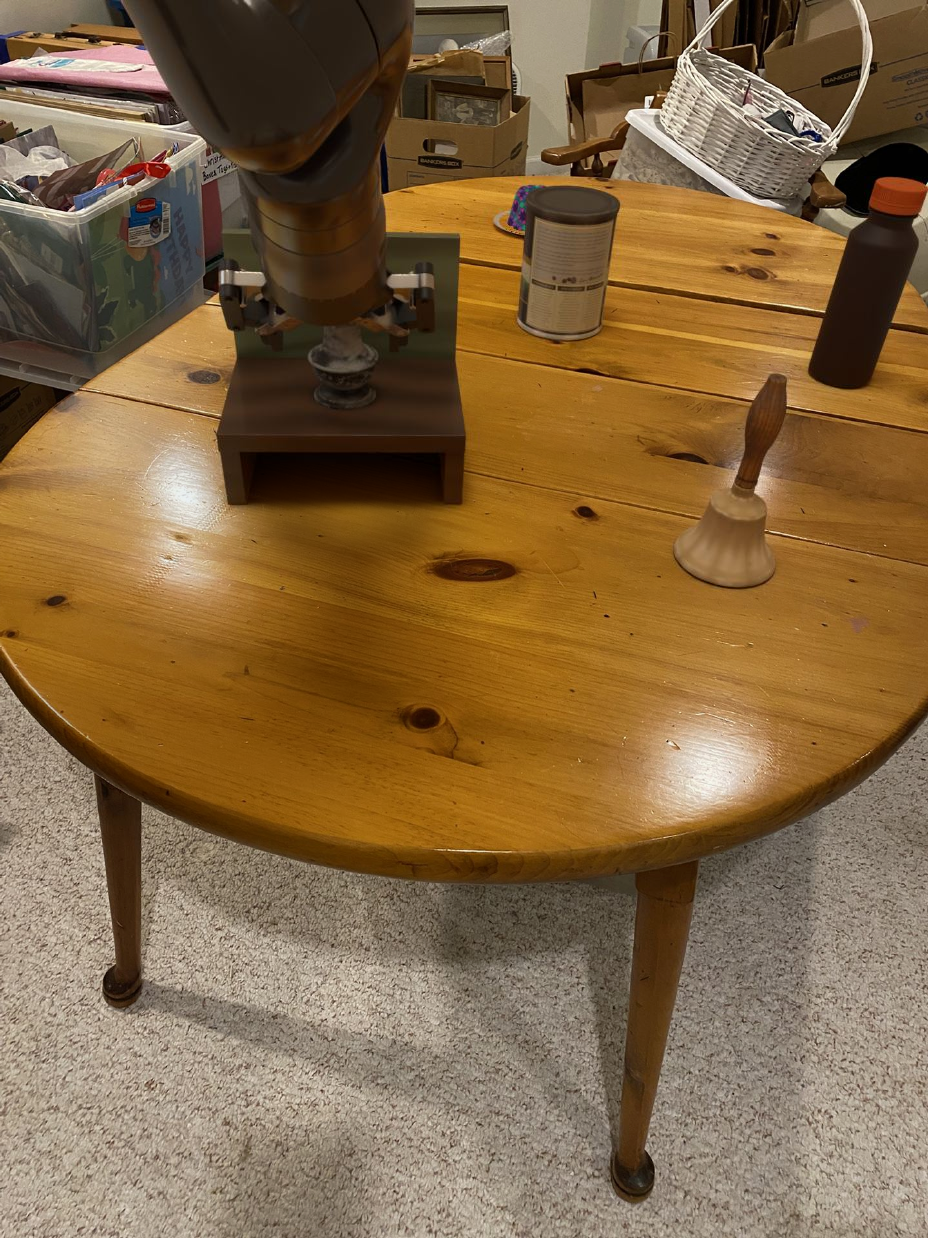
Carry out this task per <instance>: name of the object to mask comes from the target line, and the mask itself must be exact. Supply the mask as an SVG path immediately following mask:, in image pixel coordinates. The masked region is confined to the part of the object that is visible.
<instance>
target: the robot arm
mask: <svg viewBox="0 0 928 1238" xmlns="http://www.w3.org/2000/svg"><path fill="white" fill-rule="evenodd" d="M120 2H121V4H122V6H123V7H124V9H125V11H126V13H127V15H128V16H129V18H130V20H131V22H132V24H133V25H134V28H135V29H136V31H137V34H138V35H139V37H140V39H141V41H142V43H143V45H144V47H145V49H146V50H147V52H148V55H149V56H150V58H151V61H152V62H153V64H154V66H155V68H156V70H157V72H158V73H159V75H160V77H161V79H162V81H163V83H164V85H165V86H166V89H167V90H168V92H169V93H170V95H171V97H172V99H173V100H174V102H175V103H176V105H177V107H178V109H179V110H180V112H181V113H182V115H183V116H184V118H186V120H187V121H188V123H189V124H190V126H191V128H192V129H194V131H195V132H196V133H197V134H198V135H199V137H200V138H201V139H202V140H204V142H205V143H206V144H208V146H209V147H210V148H211V149H213V150H214V151H215V152H216V153H218V154H219V155H220V156H222V157H223V158H224V159H226V160H227V161H228V162H231V163H233V164H234V165H236V169H237V172H238V173H237V174H238V177H239V179H240V183H241V186H242V187H241V188H242V190H243V193H244V197H245V201H246V204H247V206H246V207H247V209H246V210H247V220H248V221H247V222H248V225H249V229H250V230H251V233H250V236H251V240H252V244H253V247H254V251H255V252H256V253H257V255H258V258H259V261H260V264H261V267H262V270H261V272H247V271H246V270H245V269H239V265H238V262H237V261H235V260H233V259H224V258H221V259H219V260H218V301H219V305H220V308H221V312H222V315H223V318H224V322H225V325H226V327H227V328H226V329H227V330H229V331H231V332H233V333H234V332H240V331H244V330H245V326H250V327H254V328H255V332H256V333H257V334H259V335H260V337H261V340H262V343H264V344H265V345H271V346H272V349H273V352H283V331H286V332H289V331H290V330H292V329H294V328H296V327H298V326H299V325H301V324H303V323H308V324H311V325H316V326H337V325H342V324H345V323H349V324H351V323H356V324H358V325H360V326H362V327H364V328H366V329H368V330H370V331H372V332H374V333H377V332H381V331H386V332H388V333H389V352H399V346H406V345H407V344H408V336H409V331H410V330H411V329H414V328H418V331H419V332H420V333H425V334H428V333H433V332H434V331H435V299H434V265H433V264H432V263H430V262H419V263H417V264H416V265H415V272H410V273H409V274H393V273H392V271H391V269H390V268H389V267H387V266H386V246H387V233H386V232H387V213H386V204H385V199H384V195H383V192H382V161H381V152H382V151H381V150H382V147H383V144H384V142H385V140H386V137H387V134H388V132H389V130H390V127H391V125H392V122H393V120H394V115H395V112H396V109H397V106H398V101H399V98H400V95H401V92H402V89H403V85H404V83H405V79H406V76H407V72H408V69H409V65H410V61H411V57H412V52H413V47H414V39H415V30H416V1H415V0H120ZM257 292H261V293H260V294H258V295H257V296H255V300H249V299H248V298H251V297H252V295H253V294H254V293H257Z"/></svg>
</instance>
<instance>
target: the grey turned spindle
mask: <svg viewBox="0 0 928 1238" xmlns="http://www.w3.org/2000/svg"><path fill="white" fill-rule="evenodd" d="M378 359H379V357H378V353H377V351H376V350H375V349H374V348H372V347H371V346H369V345H366V344H364V343H363V342H362V338H361V334H360V325H358V324H356V323H351V324H349V323H345V324H342V325H337V326H324V339H323V343H322V344H320V345H318V346H316V347H314V348H313V349H312V350H311V351H310V352H309V354H308V360H309V362H310V364H311V365H312V366H313V371H314V373H315V375H316V377H317V378H318V380H319V381H320V382H322V383H323V384H321V385H320V386H319V387H317V388H316V390H315V392H314V398H315V399H316V401H317V402H318V403H320V404H321V405H323V406H326V407H329V408H333V409H340V410H349V409H357V408H361V407H364V406H366V405H368V404H370V403H371V402H372V401H373V400H374V399H375V397H376V392H375V390H374V388H373V387H372V386H370V385H369V384H367V382H368V381H369V380H370V379H371V376H372V374H373V372H374V369H375V364H376V363H377V361H378Z"/></svg>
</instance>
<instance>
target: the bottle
mask: <svg viewBox="0 0 928 1238" xmlns="http://www.w3.org/2000/svg"><path fill="white" fill-rule="evenodd" d="M927 194H928V186H927V185H926V184H924V183H923V182H920V181H917V180H914V179H910V178H904V177H897V176H896V177H894V176H885V177H879V178H877V179H876V180H875V181H874V185H873V189H872V191H871V195H870V199H869V201H868V206H867V211H869V213H868V215H867V218H866V219H865V220H862V222H860V223H858V224H857V225H856V226H854V227H853V228H852V229H850V231H849V234H848V236H847V240H846V243H845V246H844V249H843V253H842V256H841V259H840V263H839V266H838V269H837V272H836V274H835V275H836V276H835V279H834V282H833V285H832V289H831V292H830V295H829V298H828V301H827V306H826V308H825V311H824V313H823V318H822V320H821V324H820V326H819V331H818V333H817V337H816V340H815V344H814V347H813V349H812V353H811V357H810V360H809V363H808V367H807V369H808V372H809V373H810V375H811V376H812V377H813V378H815V379H816V380H818V381H819V382H821V383H822V384H826V385H829V386H832V387H836V388H843V389H854V388H855V389H856V388H860V387H863V386H866V385H867V384H869V382H870V381H871V380H872V378H873V375H874V372H875V369H876V366H877V364H878V361H879V358H880V355H881V353H882V350H883V347H884V344H885V342H886V340H887V336H888V333H889V331H890V328H891V325H892V323H893V320H894V316H895V315H896V311H897V308H898V305H899V303H900V300H901V297H902V295H903V292H904V289H905V286H906V283H907V280H908V279H909V278H908V277H909V275H910V272H911V269H912V267H913V263H914V261H915V258H916V255H917V254H918V250H919V246H920V240H919V237H918V235H917V233H916V231H915V229H914V227H913V224H914V221H915V220H916V219H918V218H919V214H920V213H921V212H922V209H923V206H924V203H925V200H926V198H927Z"/></svg>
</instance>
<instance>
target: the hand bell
mask: <svg viewBox="0 0 928 1238" xmlns="http://www.w3.org/2000/svg"><path fill="white" fill-rule="evenodd" d="M787 383H788V377H787V376H786V375H784V374H782V373H778V372H775V373H771V374H769V375H768V377H767V379H766V381H765V382H764V384H763V385H762V387H761V388H760V390H759V391H758V392H757V394H756V395H755V397H754V398H753V400H752V402H751V405H750V407H749V409H748V413H747V416H746V419H745V427H744V451H743V456H742V458H741V460H740V464H739V467H738V469H737V474H736V475H735V477H734V480H733V482H732V485H731V487H725V488H722V489H719V490H717V491H715V492H713V494H712V495H711V497H710V498H709V501H708V504H707V506H706V508H705V510H704V512H703V514H702V516H701V518H700V519H699V521H698V522H697V523H696V524H695V525H692V526H690V527H689V528H687V529H685V530H683V531H682V532H681V533H680V534H679V535H678V536H677V537H676V539H675V541H674V543H673V547H672V548H673V549H672V550H673V555H674V557H675V559H676V560H677V562H678V563H679V564H680V565H681V567H682V568H683V569H684V570H685V571H686V572H688V573H690V574H691V575H692V576H694V577H696V578H697V579H699V580H702V581H705V582H708V583H711V584H714V585H715V586H716V585H717V586H721V587H728V588H749V587H754V586H758V585H760V584H763V583H765V582H766V581H768V580H769V579H770V578H772V576H773V575H774V573H775V571H776V568H777V562H776V557H775V554H774V552H773V550H772V548H771V547H770V545H769V544H768V543H767V540H766V523H767V522H766V521H767V514H768V505H767V503H766V501H765V500H764V499H763V498H762V497H761V496H760V495H759V494H757V493H755V490H756V487H757V486H758V482H759V478H760V475H761V470H762V466H763V462H764V460H765V457H766V455H767V453H768V452H769V450H770V449H771V448H772V446H773V444H774V443H775V442H776V440H777V438H778V436H779V434H780V432H781V431H782V427H783V424H784V421H785V418H786V415H787V408H788V395H787V393H788V391H787Z"/></svg>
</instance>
